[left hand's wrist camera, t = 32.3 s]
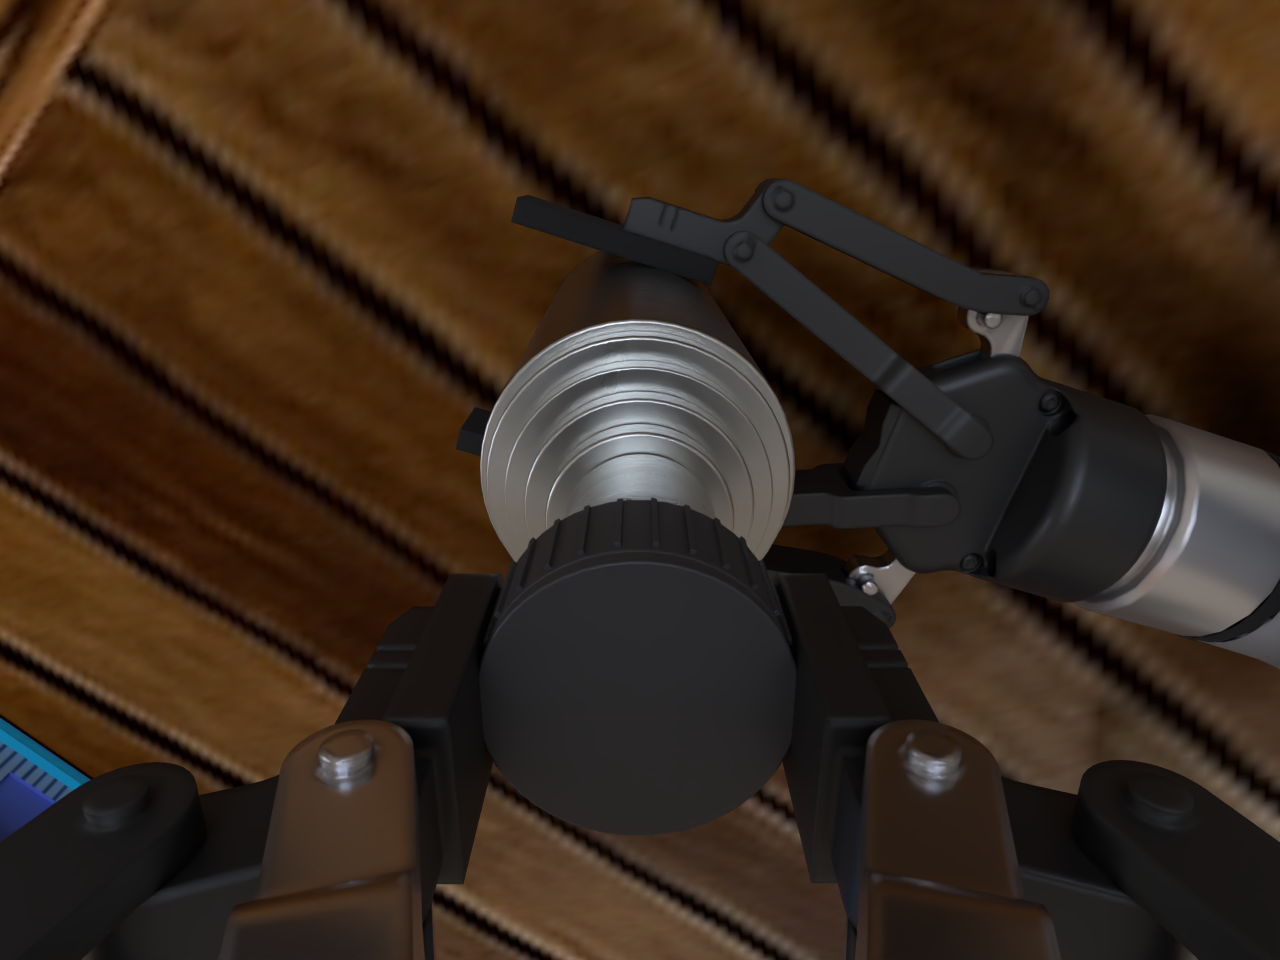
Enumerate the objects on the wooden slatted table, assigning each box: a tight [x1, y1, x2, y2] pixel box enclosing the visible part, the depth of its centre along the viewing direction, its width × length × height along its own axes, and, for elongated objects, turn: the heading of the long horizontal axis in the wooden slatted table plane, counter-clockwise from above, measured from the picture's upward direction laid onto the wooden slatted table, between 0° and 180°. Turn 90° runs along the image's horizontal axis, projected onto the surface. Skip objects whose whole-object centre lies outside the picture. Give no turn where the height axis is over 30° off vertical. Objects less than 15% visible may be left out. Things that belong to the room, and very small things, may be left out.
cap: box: [479, 498, 797, 835], centre depth 11 cm, size 4×4×2 cm
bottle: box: [480, 251, 796, 562], centre depth 24 cm, size 7×7×22 cm
